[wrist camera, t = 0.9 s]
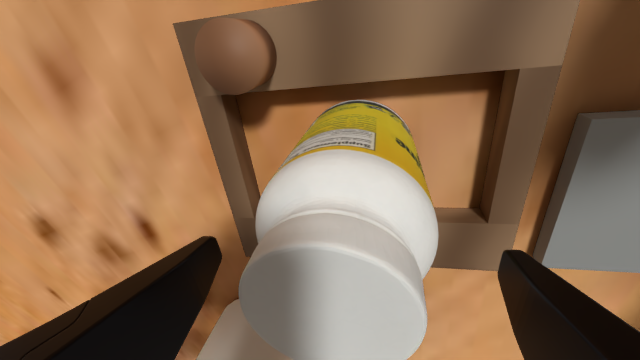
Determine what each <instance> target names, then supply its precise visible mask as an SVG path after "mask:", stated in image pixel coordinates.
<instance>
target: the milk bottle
mask: <svg viewBox="0 0 640 360" xmlns="http://www.w3.org/2000/svg"><path fill="white" fill-rule="evenodd" d="M196 360H294V359H292V358H290V357H288V356H286V355H284V354H282V353H281V352H279V351H278V350H276V349H275V348H273V347H272V346H271V345H269V344H268V343H267V342H266V341H264V340H263V339H262V338H261V337H260V336H259V335H258V334H257V333H256V331H255V330H254V329H253V328H252V327H251V325H250V324H249V323H248V321H247V319H246V318H245V316H244V314H243V311H242V309H241V306H240V301H239V299H237V300H234V301H233V302H232V303H230V304H229V305H228V306H227V307H226V308H225V309H224V311H223V313H222V314H221V316H220V318H219V319H218V321H217V323H216V325H215V326H214V328H213V330H212V332H211V334H210V335H209V337H208V339H207V341H206V342H205V344H204V346H203V348H202V350H201V351H200V353H199V355H198V357H197V359H196Z"/></svg>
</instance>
